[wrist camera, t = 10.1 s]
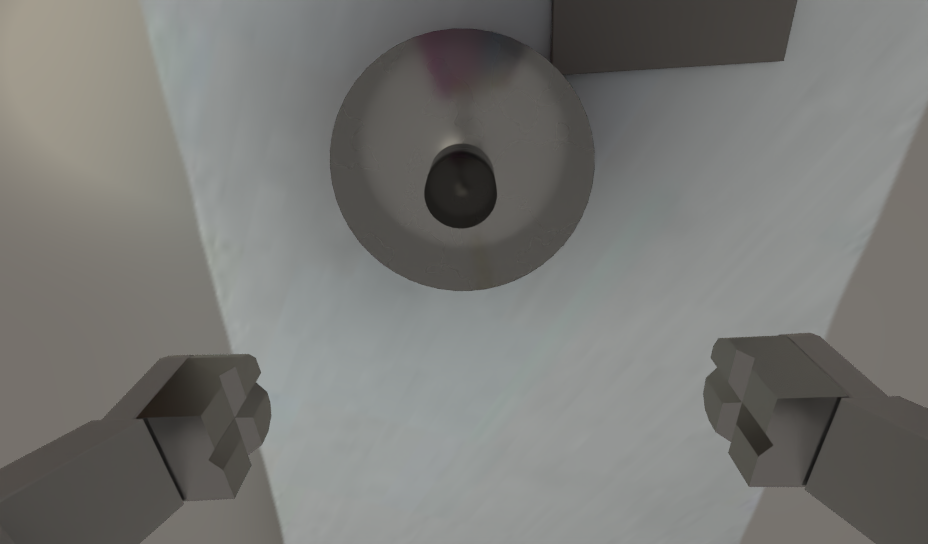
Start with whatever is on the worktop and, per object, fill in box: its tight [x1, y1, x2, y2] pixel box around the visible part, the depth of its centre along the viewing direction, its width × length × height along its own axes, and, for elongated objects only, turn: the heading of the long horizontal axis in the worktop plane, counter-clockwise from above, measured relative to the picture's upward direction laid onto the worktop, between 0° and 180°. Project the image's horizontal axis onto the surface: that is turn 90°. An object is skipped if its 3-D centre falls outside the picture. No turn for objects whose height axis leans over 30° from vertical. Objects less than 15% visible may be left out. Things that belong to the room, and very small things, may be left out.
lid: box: [330, 29, 594, 291], centre depth 22 cm, size 13×13×4 cm
